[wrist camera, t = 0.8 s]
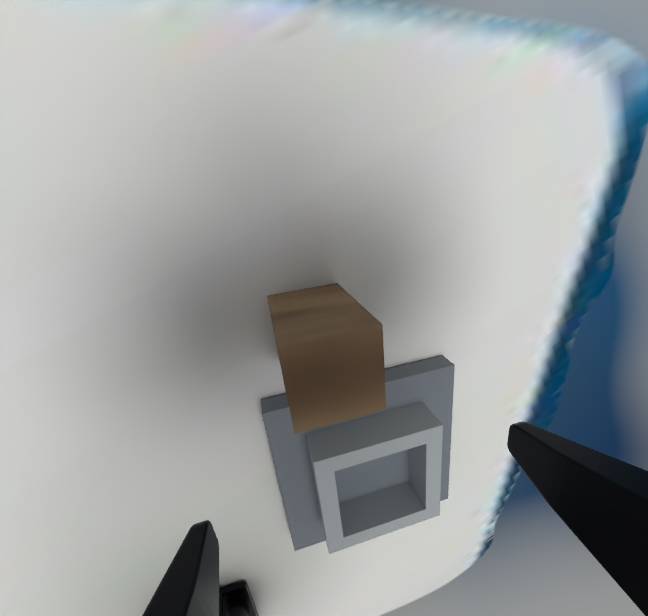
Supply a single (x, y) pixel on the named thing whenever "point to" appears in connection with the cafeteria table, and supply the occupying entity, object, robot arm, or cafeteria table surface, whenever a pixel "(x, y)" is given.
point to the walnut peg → (328, 356)
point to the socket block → (367, 461)
